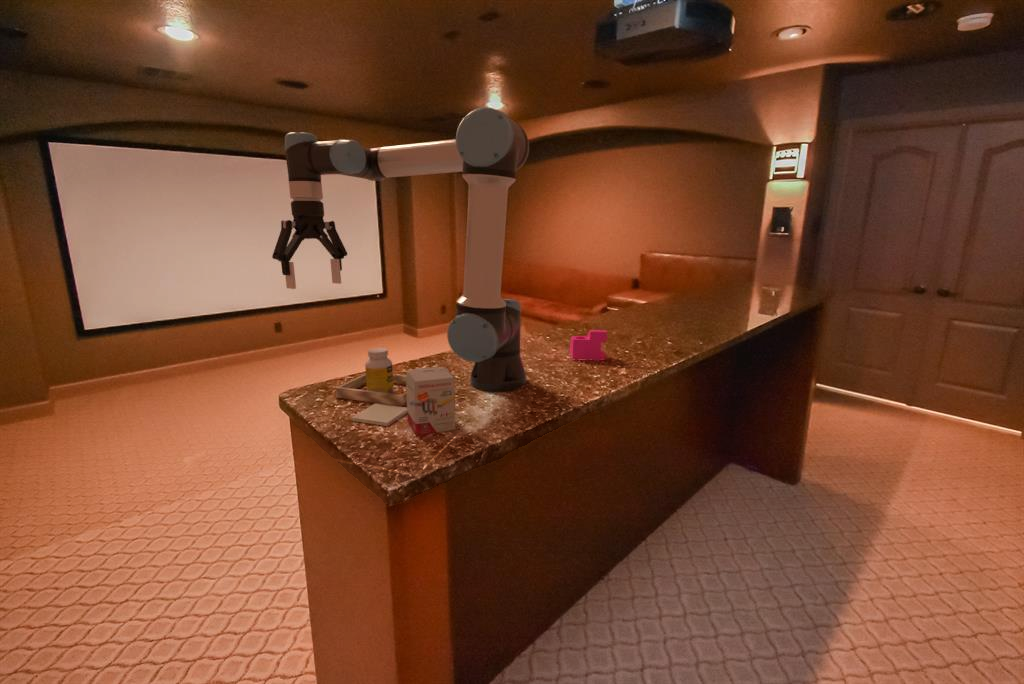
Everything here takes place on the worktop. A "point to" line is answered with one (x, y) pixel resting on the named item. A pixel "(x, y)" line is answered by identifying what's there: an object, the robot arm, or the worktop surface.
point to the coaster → (380, 414)
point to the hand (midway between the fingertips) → (315, 285)
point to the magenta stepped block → (588, 345)
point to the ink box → (430, 400)
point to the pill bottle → (379, 371)
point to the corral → (371, 392)
